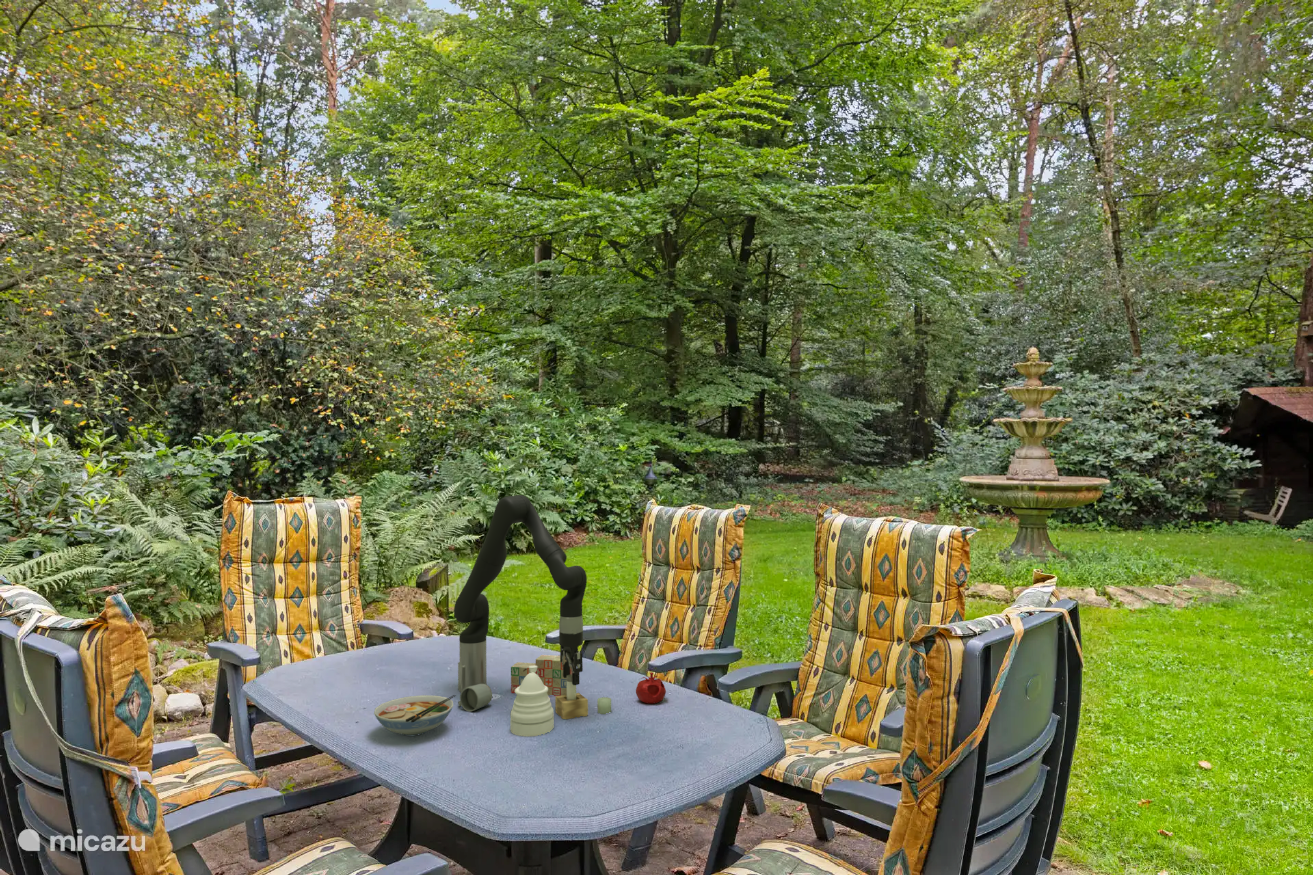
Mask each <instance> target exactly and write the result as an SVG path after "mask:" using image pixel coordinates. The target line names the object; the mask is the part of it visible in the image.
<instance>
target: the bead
mask: <svg viewBox="0 0 1313 875" xmlns="http://www.w3.org/2000/svg"><path fill="white" fill-rule="evenodd" d="M596 705H597V710H596V711H597V714H599V713H600V714H599V715H607V714H606V713H609V712H611V713H612V698H610V697H608V696H607V697H606V696H603V697H598V698H597V704H596ZM609 714H610V713H609Z"/></svg>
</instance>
